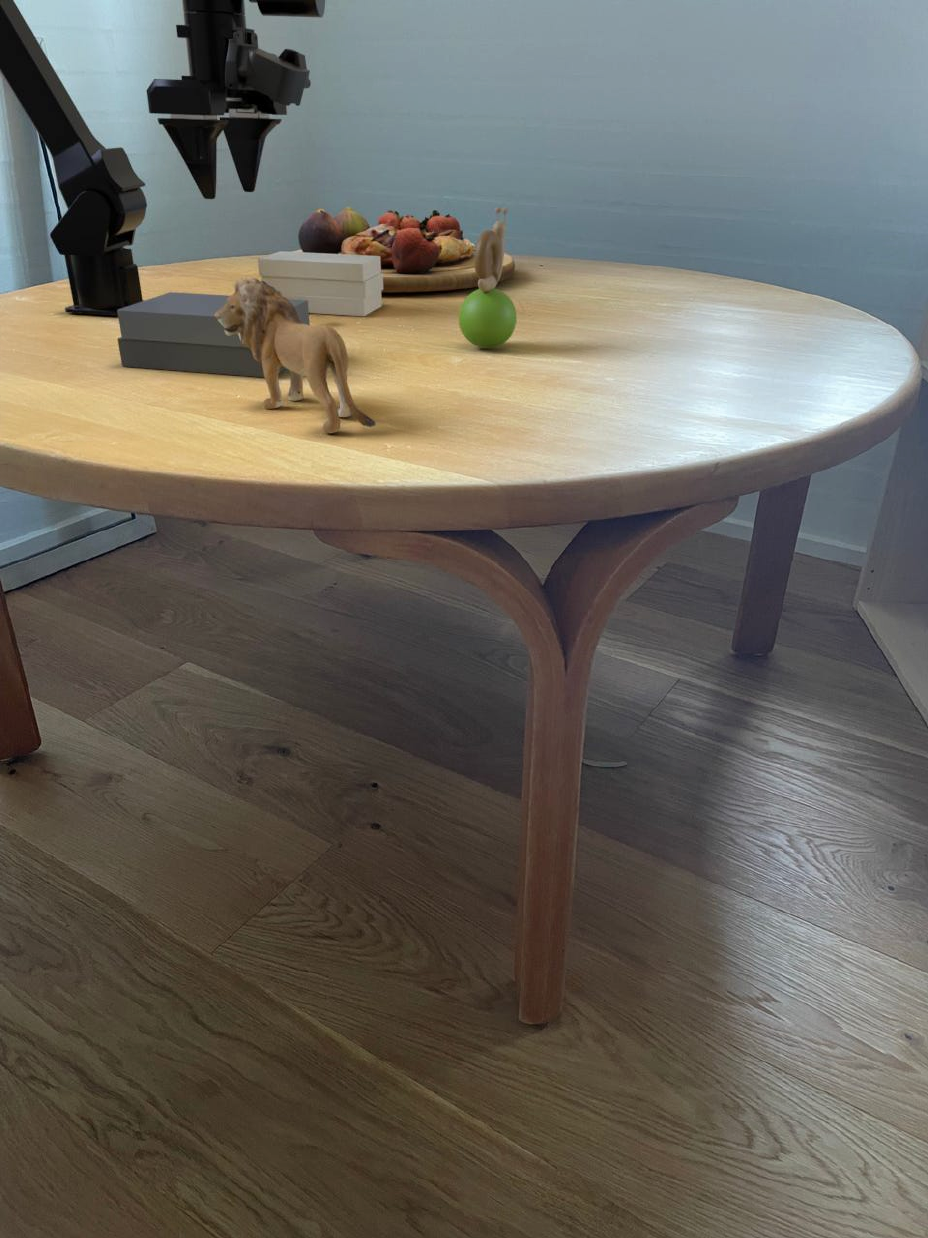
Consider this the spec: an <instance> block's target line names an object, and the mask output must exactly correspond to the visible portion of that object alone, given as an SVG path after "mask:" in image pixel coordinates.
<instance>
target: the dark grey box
mask: <svg viewBox="0 0 928 1238" xmlns="http://www.w3.org/2000/svg"><path fill="white" fill-rule="evenodd" d="M230 296H231V295H227V294H226V295H225V294H208V293H191V292H190V293H189V292H173V291H170V292H169V291H168V292H167V293H163V294H161V295H158V296H155V297H152V298H149V299H148V298H147V299H146V300H143V301H142V302H139V303H136V304H133V305H130V306H127V307H124V308H121V309H118V310H117V313H118V315H117V318H118V324H119V330H120V337H117V345H118V351H119V357H120V363H121V367H125V368H137V369H152V370H163V371H164V370H165V371H177V372H189V373H202V374H213V375H215V374H216V375H229V376H241V377H254V378H264V379H265V377H264V372H263V367H262V363H261V362H258V361H257V360H255V359H254V356H253V353H252V351H251V349H249V348H248V347H246V346H245V345H243V344H242V342H241V340H240V338H239V335H238V333H236V334H234V335H231V336H228V335H226V333H225V330H224V326H223V325H222V324H221V323H220V322H219V321H218V319H217V318H216V317H215V313H216V312H217V311H218V310H219V309H221V308H222V307H223V306H224V305H225V304H226V303H227V300H228V298H229V297H230ZM288 300H289V301H290V302H291V304H292V305H293V307H294V308H295V310H296V312H297V314H298V318H299V320H300V321H301V322H302V323H304V324H307V325H309V326H311V325H310V313H309V310H308V300H293V299H288ZM285 370H288V369H287V368H285V367H280V370H279V373H278V375H279V374H280V373H282V372H284V371H285Z"/></svg>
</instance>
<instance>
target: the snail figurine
mask: <svg viewBox="0 0 928 1238" xmlns="http://www.w3.org/2000/svg"><path fill="white" fill-rule="evenodd" d="M508 211H509V210H508V208H507V207H505V206H504V207H502V209H501V207H500V206H496V207H495V208H494V212H495V213H496V214H497V217H496V221H495V223H493V225H492V230H491V229H487V230H484V231H483V232H481V234H480V235H479V237H478V238H477V240H476V245H475V247H476V249H475V258H474V264H475V271H476V274H477V276H478V278H479V281H478V289H476V290H474V291H472V292H471V293H469V294H468V295H467V296H466V297H465V298H464V300H463V302H462V304H461V305H460V309H459V311H458V324H459V328H460V332H461V333H462V335H463V337H464V338H465V339H466V340H467V341H468V342H469V343H470V344H471V345H473V346H475V347H477V348H480V349H495V348H498V347H500V346H502V345H504V344H505V343H506V342H507V341H508V340H509V339H511V337H512V335H513V333H514V331H515V330H516V326H517V319H518V318H517V317H518V315H517V310H516V306H515V304H514V303H513V301H512V299H511V298H510V297H509V296H508V295H507V294H506V292H504V291H502V290H501V289H498V288H496V286H497V284H498V283H499V282H498V280H499V279H500V276H501V271H502V265H503V259H504V253H505V249H506V240H505V239H506V233H507V225H506V214H507V213H508ZM500 213H502V214H503V221H502V220H499V214H500Z"/></svg>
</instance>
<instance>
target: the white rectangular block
mask: <svg viewBox="0 0 928 1238" xmlns="http://www.w3.org/2000/svg"><path fill="white" fill-rule="evenodd" d="M257 264H258V266H257V267H258V276H259V277H261V276H269V277H288V278H306V279H325V280H343V281H361V282H363V281H365V280H367V279H369V278H371V277H374V276H376V275H378V274H380V273H381V261H380V256H367V255H346V254H326V253H305V252H293V251H282V250H280V251H277V252H274V253H270V254H268V255H264V256H261V257H258V258H257Z"/></svg>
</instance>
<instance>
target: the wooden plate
mask: <svg viewBox="0 0 928 1238" xmlns="http://www.w3.org/2000/svg"><path fill="white" fill-rule="evenodd" d="M463 234H464V231H463V230H461V225H460V222H459V220H458V219H457V218H456V217H454V216H451V214H450V213H448V214H446V215H445V216H443V215H441V214H440V212H439V210H436V209H433V210H432V213H431V214H430V215H429V217H427V216H425V217H424V219H423V220H421V222H420V220H418V218H415V217H414V215H413V214H412V215H409V214H406V215H400V213H399V212H398V211H396V210H394V211H393V210H387V212H386V213H383V214H382V215H381V216H379V218H378V222H377V225H375V226H370V224H369V222H368V221H367V219H366V218H365V217H364V216H363V215H362V214H360V213H359V212H357V211H355V210H354V209H353V208H352V207H351V206H346V207H345V208H344V209H343V210H341V211H340V212H338V213H337V214H336V215H335V216H334V217H333V216H331V215H330V214H329V213H328V212H327V211H326V210H324V209H323V208H321V207H320V208H318V209H316V210H315V211H313V212H312V213H311V214H309V215H308V217H307V218H306V219H304V221H303V222H302V223H301V225H300V228H299V230H298V234H297V238H298V244H299V248H300V249H298V250H294V251H293V250H292V252H305V253H326V254H346V255H367V256H380V261H381V273H383V290H382V291H381V293H416V292H417V293H418V292H419V293H420V292H439V291H454V290H462V289H471V288H476V287H478V288H479V286H478V281H479V278H478V276H477V274H476V271H475V264H474V258H475V249H476V245H475V244H474V243H472V241H470V239H468V238H464V235H463ZM515 269H516V263H515V260H514V259H513V257H512V256H511V255H510V254H508V253H506V252H504V259H503V265H502V271H501V276H500V279H499V280H498V282H497V283H499V282H502V281H505V280H506V279H508V278H511V276H512V275H513V274H514V272H515Z"/></svg>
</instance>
